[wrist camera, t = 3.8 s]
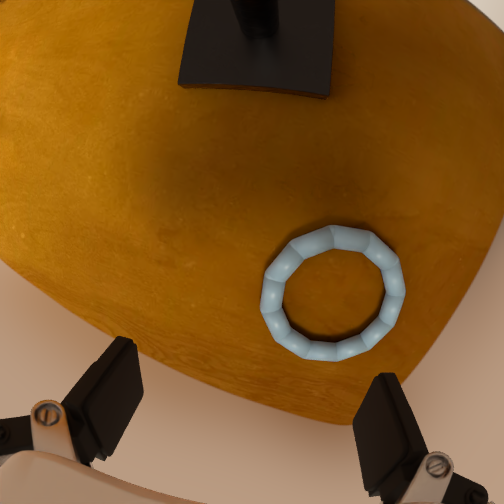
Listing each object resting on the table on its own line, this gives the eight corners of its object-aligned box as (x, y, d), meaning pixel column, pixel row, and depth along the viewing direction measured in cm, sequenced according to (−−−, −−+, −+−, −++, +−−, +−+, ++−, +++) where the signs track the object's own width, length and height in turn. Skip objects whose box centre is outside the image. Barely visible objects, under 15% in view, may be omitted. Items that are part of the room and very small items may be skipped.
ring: (414, 237, 17) (423, 242, 16) (376, 356, 20) (381, 367, 19) (272, 213, 18) (271, 218, 16) (254, 344, 21) (252, 356, 19)
